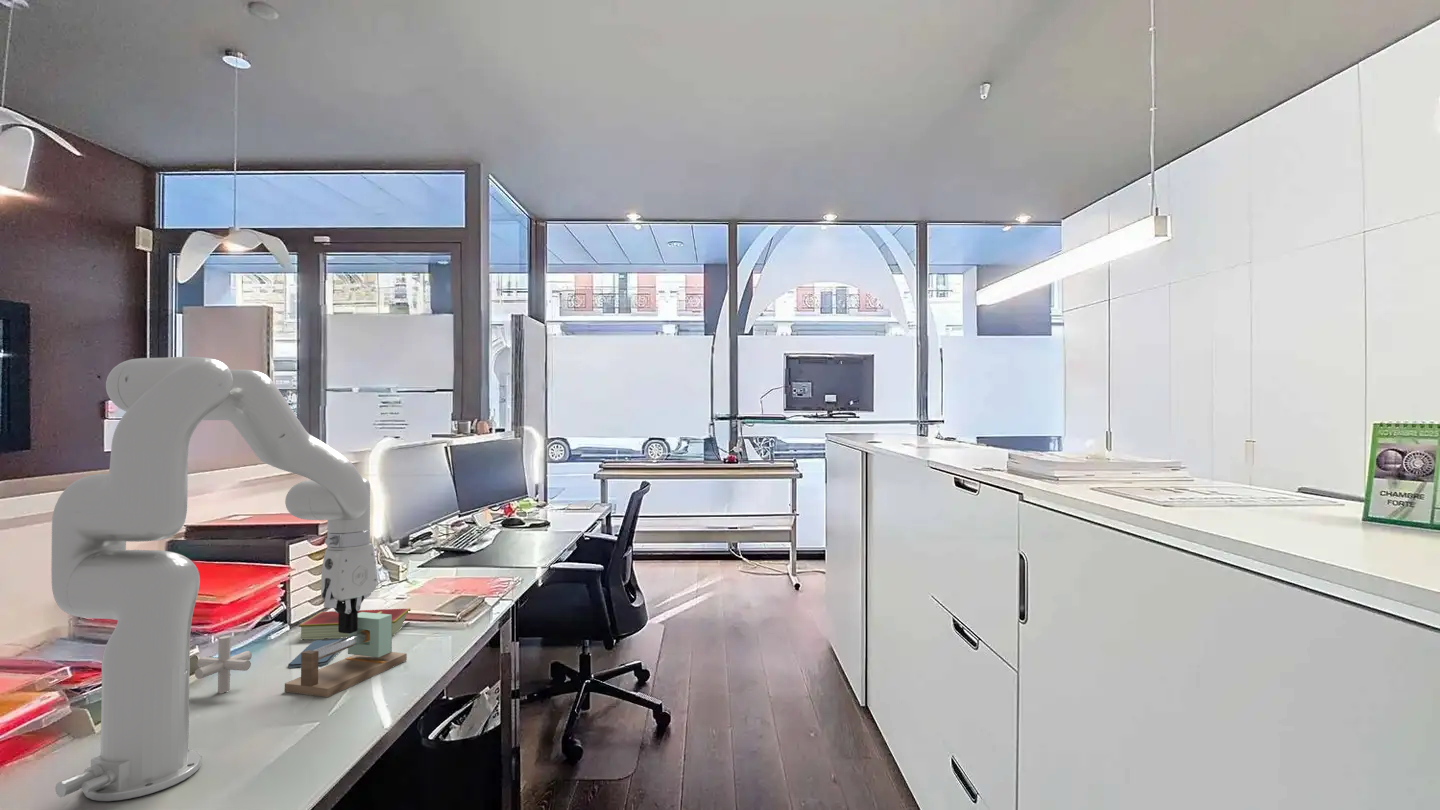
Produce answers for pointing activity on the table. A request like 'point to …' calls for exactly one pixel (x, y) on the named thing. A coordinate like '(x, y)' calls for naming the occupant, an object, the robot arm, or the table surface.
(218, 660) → the pipe connector
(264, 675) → the table surface
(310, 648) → the smartphone
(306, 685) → the rod stand
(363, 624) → the collar
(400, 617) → the hardcover book
